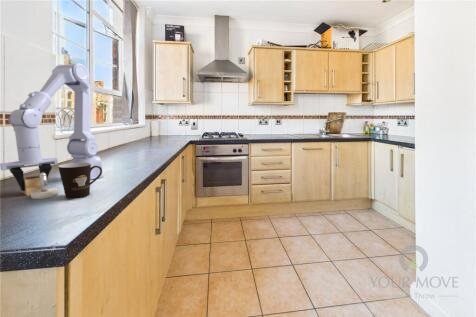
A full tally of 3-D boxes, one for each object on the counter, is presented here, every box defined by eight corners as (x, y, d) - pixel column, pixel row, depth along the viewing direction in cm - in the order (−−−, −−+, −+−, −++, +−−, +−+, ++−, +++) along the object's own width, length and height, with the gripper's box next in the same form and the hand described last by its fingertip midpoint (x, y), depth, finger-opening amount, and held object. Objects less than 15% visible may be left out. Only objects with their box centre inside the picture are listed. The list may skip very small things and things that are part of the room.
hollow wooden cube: (40, 189, 89) (39, 175, 88) (45, 192, 86) (44, 177, 85) (22, 192, 85) (20, 178, 85) (27, 195, 82) (25, 180, 82)
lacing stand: (54, 191, 87) (53, 187, 87) (61, 195, 83) (61, 190, 83) (28, 196, 82) (27, 191, 82) (35, 200, 77) (34, 195, 77)
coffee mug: (59, 201, 76) (56, 168, 75) (63, 194, 84) (60, 163, 82) (104, 196, 82) (101, 165, 80) (103, 189, 89) (101, 161, 88)
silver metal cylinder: (46, 190, 83) (44, 171, 82) (48, 191, 82) (46, 172, 81) (40, 191, 82) (37, 172, 81) (42, 192, 81) (39, 173, 80)
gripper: (50, 144, 92) (55, 182, 94) (-5, 148, 80) (1, 191, 82) (58, 146, 87) (62, 185, 89) (1, 150, 76) (7, 195, 78)
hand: (33, 188), depth 86 cm, fingers closed on hollow wooden cube, 5 cm apart
